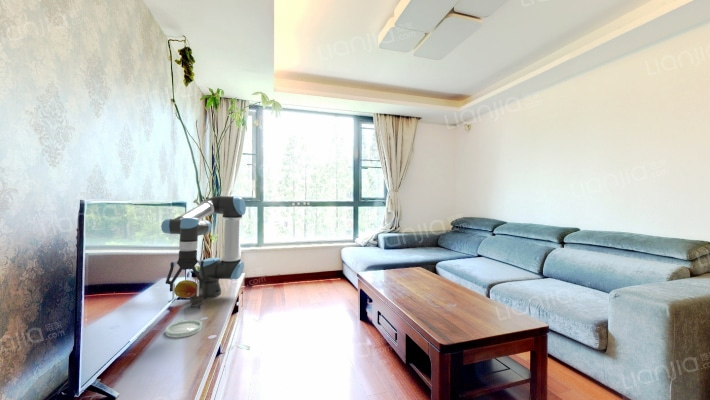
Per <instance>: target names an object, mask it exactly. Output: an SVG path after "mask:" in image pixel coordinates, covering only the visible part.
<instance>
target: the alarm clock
mask: <svg viewBox="0 0 710 400" xmlns="http://www.w3.org/2000/svg"><path fill="white" fill-rule="evenodd" d="M198 281H199V280H198V279H197V278H195V280H194V282H195V283H196V284H197V282H198ZM189 302H190V304H191V306H190V308H192V306H193V307H195V306H198V309H201V305H202V304H203V302H204V298H203V290H202V288H201V289H199V296H197V292H196V294H195V295H194V296H192V297H189Z"/></svg>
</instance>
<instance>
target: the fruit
mask: <svg viewBox="0 0 710 400" xmlns="http://www.w3.org/2000/svg"><path fill="white" fill-rule="evenodd" d="M196 283H197V282H196ZM196 283H195V280H187V279H184V280H181V281H179V282H178V283H177V284H175V294H174V295H175V296H177V297H179V298H182V299H188V298H189V297H192V296H194V295H195V294H196V292H197V284H196ZM189 299H190V298H189Z"/></svg>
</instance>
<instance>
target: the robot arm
mask: <svg viewBox="0 0 710 400" xmlns="http://www.w3.org/2000/svg"><path fill="white" fill-rule="evenodd" d="M246 210H247V206H246V202H245V200H244V198H243V197H239V196H229V195H225V196H224V195H223V196H222V195H217V196H212V197H210V198H207V199H204V200H202V201H200V203H199V204H198V205H197V206H195V207H193V208H192V209H189V210H188V211H185V212H184V213H183V214H181V215H179V216H177V217H176V218H173V219H172V218H166V219H164V220H163V221H161V225H160V227H161V231H162V233H164V234H168V235H169V234H170V235H179V243H178V245H179V247H178V249H179V251H178V260H177V261H170V263H169V265H170V269H169V271H168V274H167V276H166V280H165V284H166V285H169V292H170V293H172V295H171V299H172V300H174V299H175V295H176V294H175V287H176V283H175V281H176V280H177V279H178V277H179V275H180V274H181V273H182V271H186V270H189V271H190V270H192V271H193V273H194V274H195V276H196V279H197V280H198V282H197V281H196V283H197V296H199V289H201V288H202V290H203V299H209V298H214V297H218V296H220V295H221V294H222V288H221V283H220V280H239V279H240V278H241V276H242V274H243V272H244V269H245V268H244V267H245V263H244V261H242V258H241V257H240V256H239V251H240V250H239V249H240V245H239V244H240V243H239V242H240V221H241V219H242V218H243V216H244V215H245V213H246ZM218 214H220V215H222V219H224V250H223V252H224V253H223V254H224V255H223V256H222V257H221V258H220V257H211V258H206V259H200V260H198V257H197V256H198V238H199V237H198V236H204V235H208V234H209V233H210V232H211V231H212V227H213V226H212V223H211V222H210V221H209V220H207V219H204V218H205V217H207V216H211V215H218ZM197 264H198V265H199V267H198V268H199V272H198V270H197V268H196V266H197ZM176 265H178V267H179V268H178V270H177V271H176V273H175V275H173V277H172V278H171V276H172V274H173V272H174V268H175V267H176ZM170 279H171V280H170Z"/></svg>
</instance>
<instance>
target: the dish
mask: <svg viewBox="0 0 710 400" xmlns="http://www.w3.org/2000/svg"><path fill="white" fill-rule="evenodd" d="M202 329H203V322H202V320H199V319H183V320H179V321H177V322H176V321H175V322H173V323H171V324H169V325H167V326H166V328H165V336H166V337H169V338H175V339H176V338H179V339H180V338H186V337H189V336H193V335H195V334H197V333H199V332H201V331H202Z"/></svg>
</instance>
